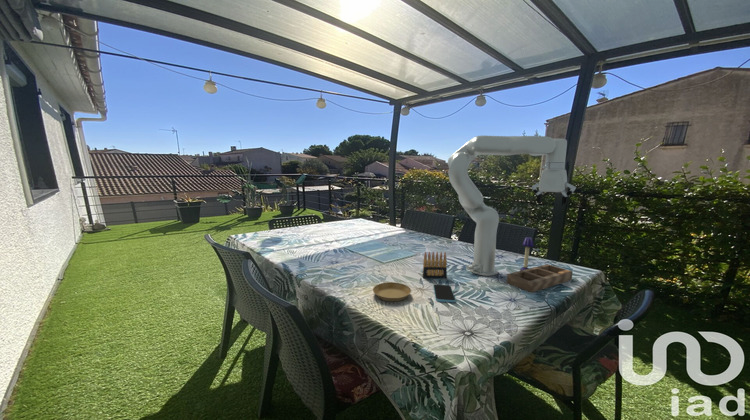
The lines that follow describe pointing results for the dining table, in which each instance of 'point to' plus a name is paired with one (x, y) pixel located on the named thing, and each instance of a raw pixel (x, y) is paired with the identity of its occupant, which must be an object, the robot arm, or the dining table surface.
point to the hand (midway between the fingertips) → (551, 204)
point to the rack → (539, 277)
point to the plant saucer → (392, 291)
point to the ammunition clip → (434, 266)
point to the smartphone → (444, 293)
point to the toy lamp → (527, 251)
